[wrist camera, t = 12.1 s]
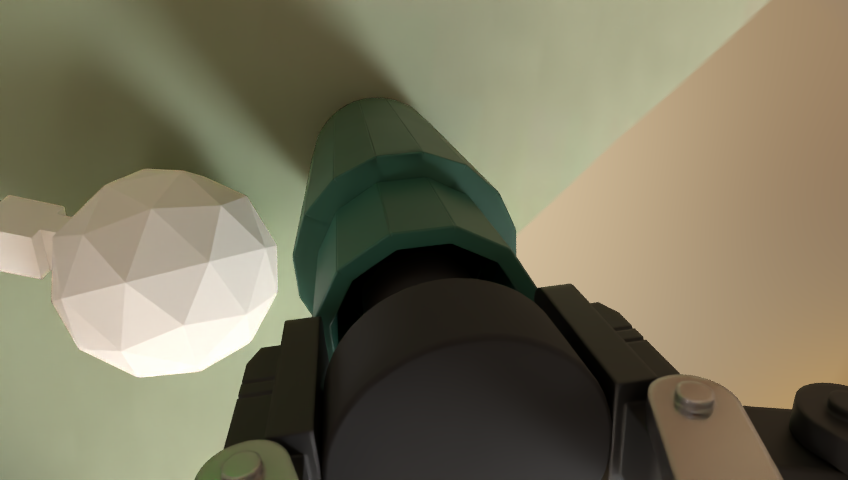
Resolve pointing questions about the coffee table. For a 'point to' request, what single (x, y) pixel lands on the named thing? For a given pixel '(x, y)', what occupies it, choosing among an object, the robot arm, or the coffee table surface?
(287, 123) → the coffee table surface
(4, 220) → the perfume bottle
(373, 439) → the stopper
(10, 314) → the coffee table surface
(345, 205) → the green bottle
